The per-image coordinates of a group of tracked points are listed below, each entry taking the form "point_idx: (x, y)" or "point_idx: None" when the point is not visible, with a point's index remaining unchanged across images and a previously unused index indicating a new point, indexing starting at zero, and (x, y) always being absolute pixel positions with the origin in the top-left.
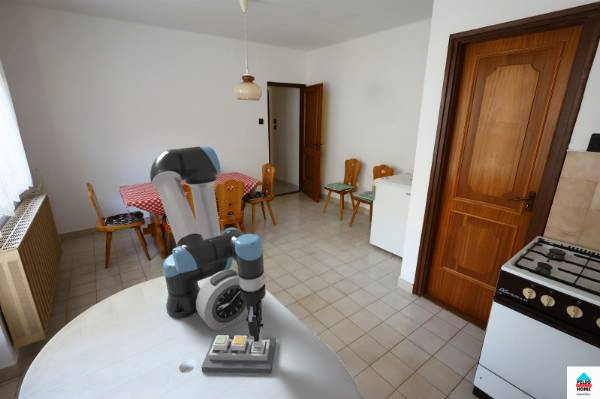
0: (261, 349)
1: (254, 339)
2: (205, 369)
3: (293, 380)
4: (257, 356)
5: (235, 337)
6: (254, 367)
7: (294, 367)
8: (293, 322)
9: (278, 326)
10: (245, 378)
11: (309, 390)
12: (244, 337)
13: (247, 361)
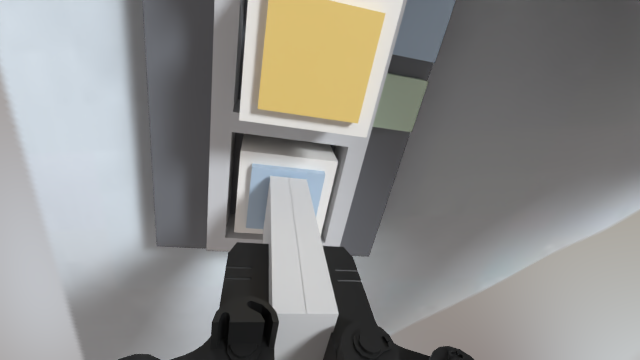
0: (248, 226)
1: (226, 271)
2: None
3: (136, 306)
4: (210, 191)
5: (364, 10)
6: (159, 156)
7: (205, 307)
8: (453, 297)
9: (456, 242)
10: (120, 84)
11: (95, 353)
12: (343, 120)
13: (206, 107)
